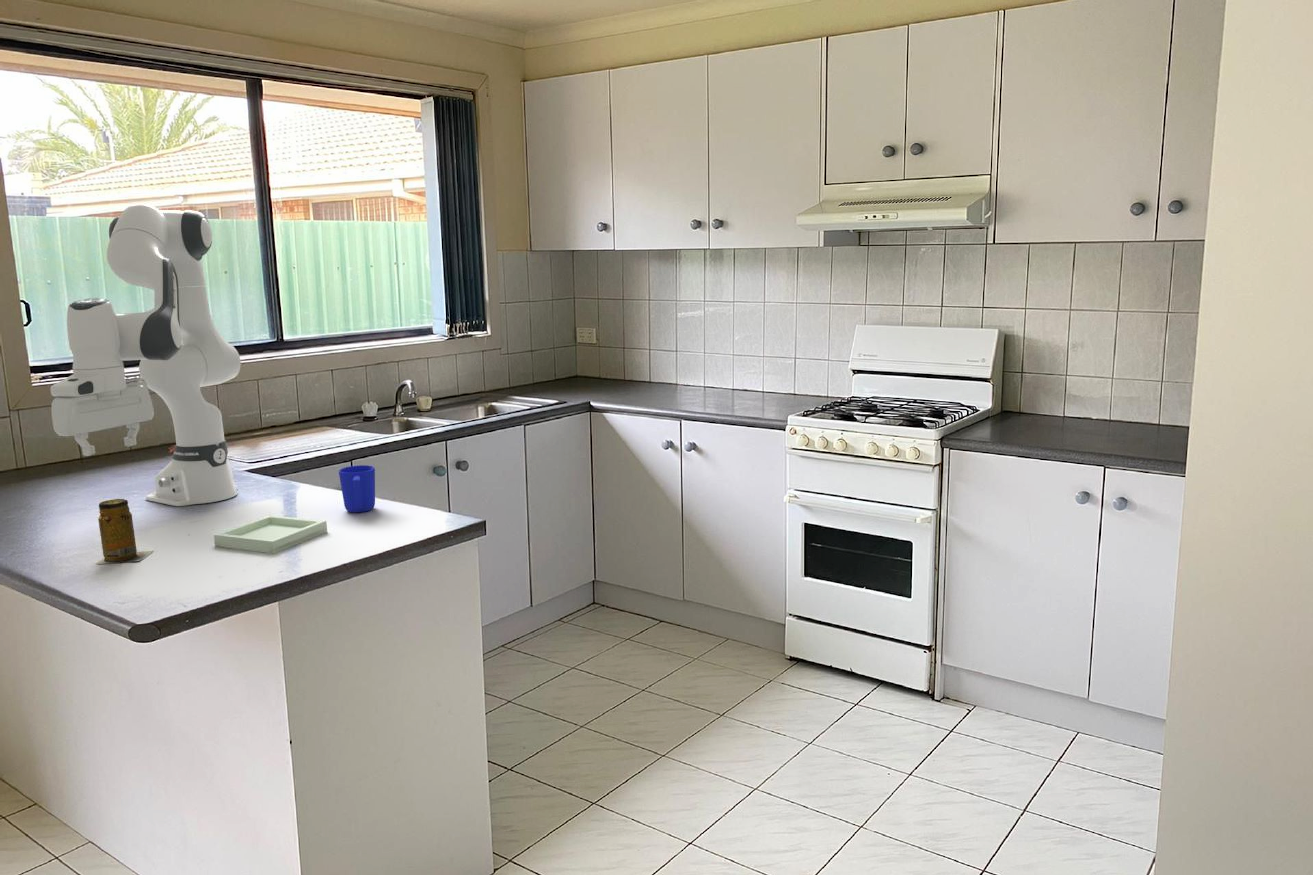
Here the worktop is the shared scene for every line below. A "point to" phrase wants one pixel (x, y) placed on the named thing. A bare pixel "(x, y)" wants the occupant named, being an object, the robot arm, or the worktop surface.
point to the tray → (270, 534)
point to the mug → (358, 487)
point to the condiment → (118, 533)
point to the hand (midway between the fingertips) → (110, 450)
